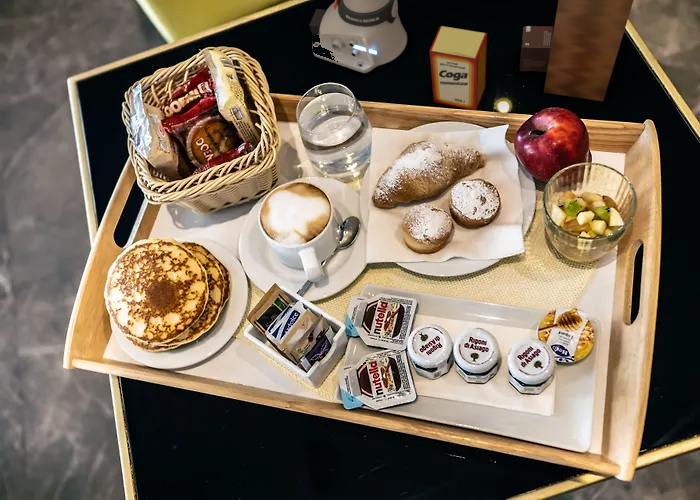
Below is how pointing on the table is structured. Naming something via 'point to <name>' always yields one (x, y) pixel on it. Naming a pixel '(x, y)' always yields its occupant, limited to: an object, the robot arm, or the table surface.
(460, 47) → the baking soda box
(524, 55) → the box
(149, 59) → the table surface
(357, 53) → the robot arm
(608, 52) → the wooden high-back chair
